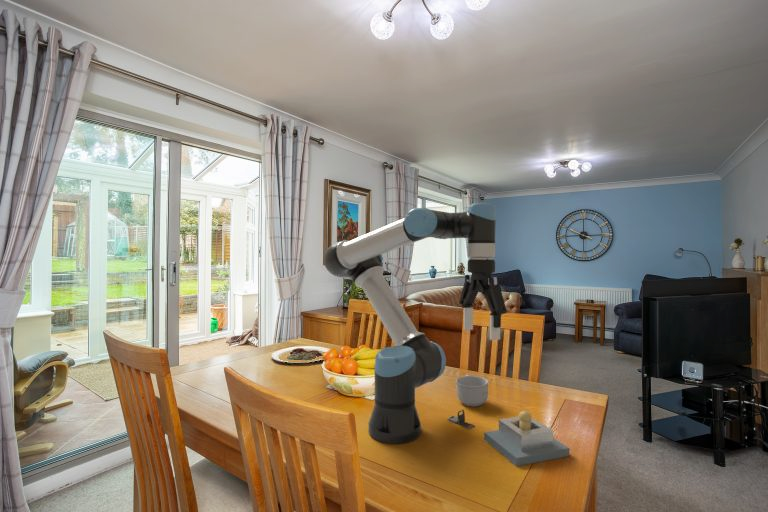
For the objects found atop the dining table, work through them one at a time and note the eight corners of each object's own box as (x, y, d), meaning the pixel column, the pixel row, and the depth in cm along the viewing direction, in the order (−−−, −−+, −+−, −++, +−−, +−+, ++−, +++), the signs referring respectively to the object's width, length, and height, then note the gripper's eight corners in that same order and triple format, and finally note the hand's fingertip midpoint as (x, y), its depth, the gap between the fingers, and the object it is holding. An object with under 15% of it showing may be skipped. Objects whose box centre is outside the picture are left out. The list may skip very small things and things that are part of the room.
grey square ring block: (521, 451, 95) (521, 435, 95) (498, 434, 104) (498, 419, 104) (552, 445, 98) (552, 430, 98) (527, 429, 107) (528, 415, 107)
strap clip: (446, 421, 118) (446, 407, 118) (452, 418, 120) (452, 404, 120) (469, 430, 112) (469, 416, 111) (475, 427, 114) (475, 413, 114)
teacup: (489, 410, 125) (489, 386, 125) (455, 408, 127) (455, 384, 127) (486, 395, 138) (486, 373, 138) (456, 393, 141) (456, 371, 141)
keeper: (516, 466, 92) (516, 426, 92) (484, 439, 106) (484, 404, 105) (569, 455, 97) (569, 418, 97) (532, 431, 110) (532, 398, 110)
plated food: (302, 370, 168) (302, 362, 168) (258, 359, 184) (258, 352, 184) (345, 355, 193) (345, 348, 193) (303, 346, 209) (303, 340, 209)
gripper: (521, 259, 96) (520, 343, 96) (469, 258, 120) (469, 325, 120) (495, 259, 94) (495, 345, 94) (448, 258, 118) (448, 326, 118)
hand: (480, 334), depth 107 cm, fingers open, 13 cm apart
